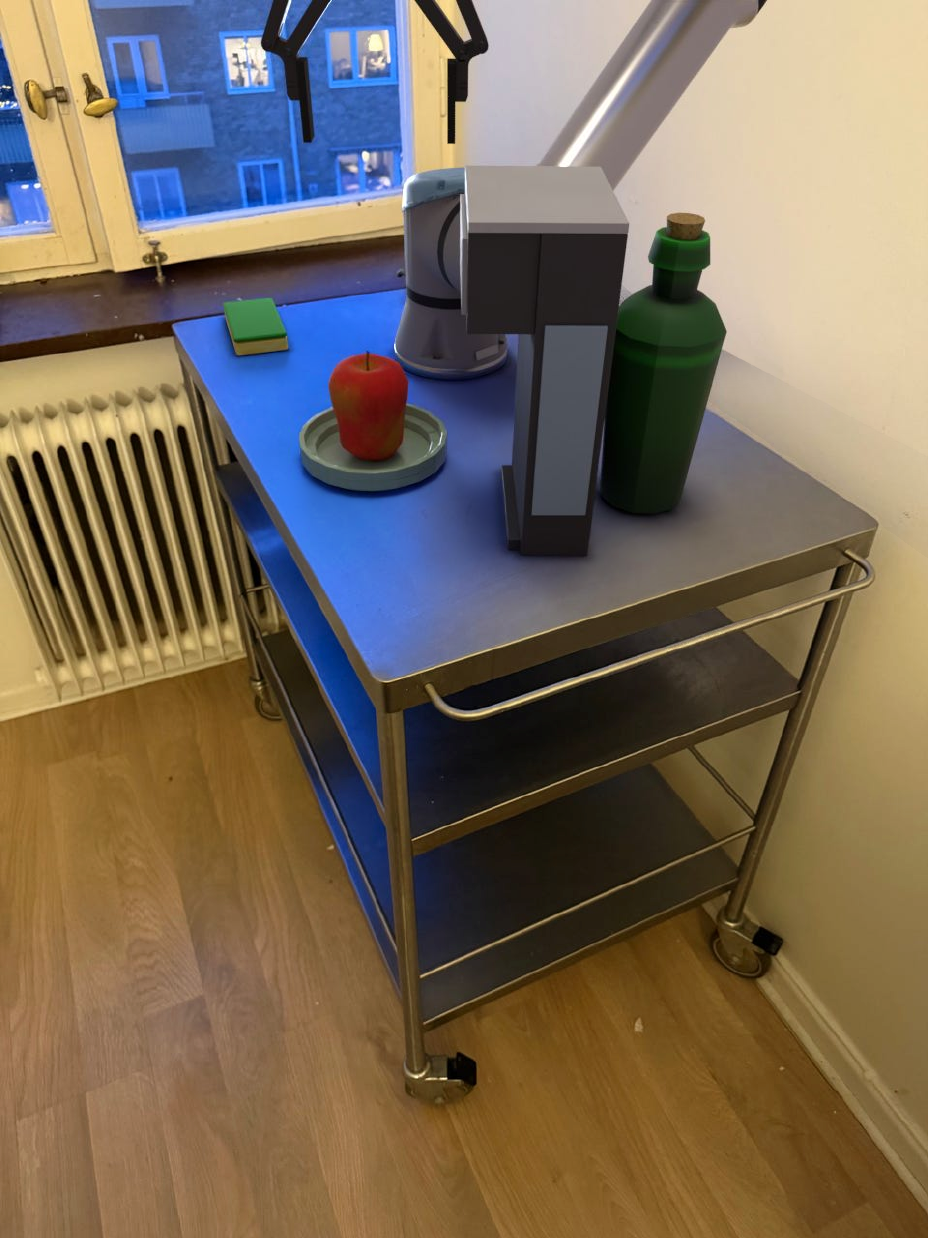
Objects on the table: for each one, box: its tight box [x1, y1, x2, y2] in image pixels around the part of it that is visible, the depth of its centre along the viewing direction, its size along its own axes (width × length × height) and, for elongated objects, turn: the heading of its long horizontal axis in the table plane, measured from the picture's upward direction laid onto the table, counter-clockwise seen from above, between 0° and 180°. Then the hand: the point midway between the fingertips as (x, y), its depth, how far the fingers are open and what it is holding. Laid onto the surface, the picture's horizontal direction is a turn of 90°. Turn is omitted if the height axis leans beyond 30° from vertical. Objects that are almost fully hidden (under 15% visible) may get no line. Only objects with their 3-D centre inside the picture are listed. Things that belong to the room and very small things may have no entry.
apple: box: [327, 350, 409, 461], centre depth 95 cm, size 9×8×12 cm
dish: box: [298, 403, 448, 492], centre depth 98 cm, size 16×16×3 cm
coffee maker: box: [460, 165, 630, 557], centre depth 81 cm, size 12×16×31 cm
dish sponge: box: [222, 297, 289, 356], centre depth 124 cm, size 7×14×2 cm, turn 18°
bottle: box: [600, 212, 728, 515], centre depth 85 cm, size 11×11×28 cm
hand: (380, 140), depth 84 cm, fingers open, 13 cm apart
